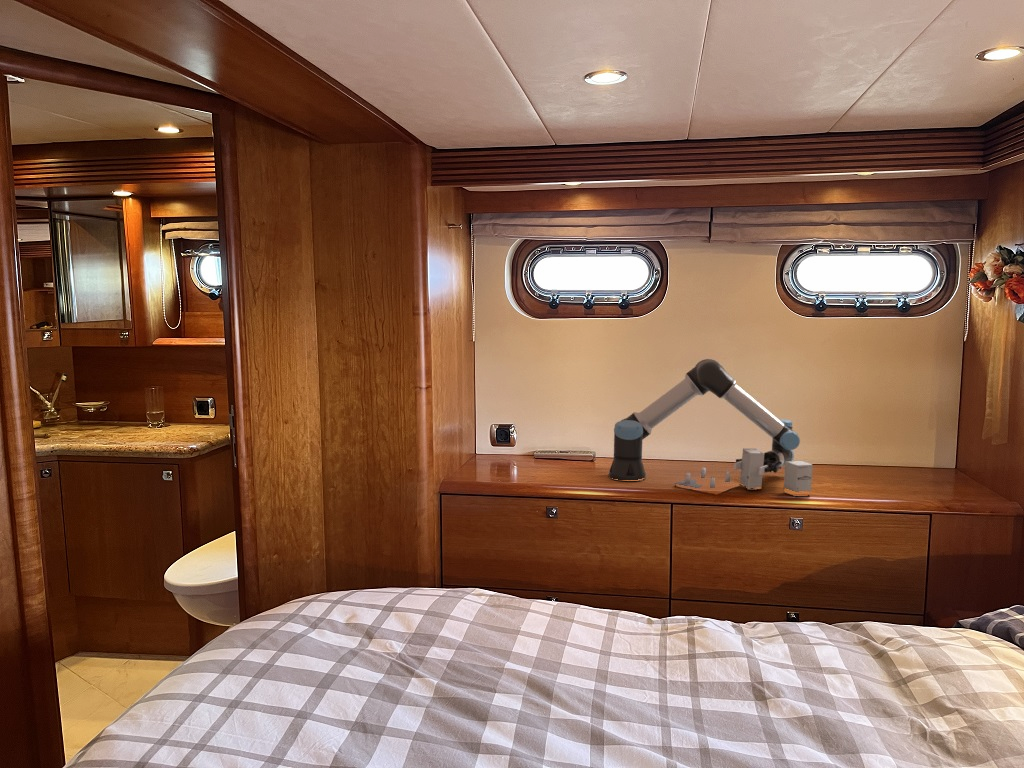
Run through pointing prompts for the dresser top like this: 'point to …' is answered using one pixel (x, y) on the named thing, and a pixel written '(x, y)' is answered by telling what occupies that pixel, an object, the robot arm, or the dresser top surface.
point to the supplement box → (798, 476)
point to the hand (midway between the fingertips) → (747, 469)
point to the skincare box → (751, 468)
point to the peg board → (692, 483)
